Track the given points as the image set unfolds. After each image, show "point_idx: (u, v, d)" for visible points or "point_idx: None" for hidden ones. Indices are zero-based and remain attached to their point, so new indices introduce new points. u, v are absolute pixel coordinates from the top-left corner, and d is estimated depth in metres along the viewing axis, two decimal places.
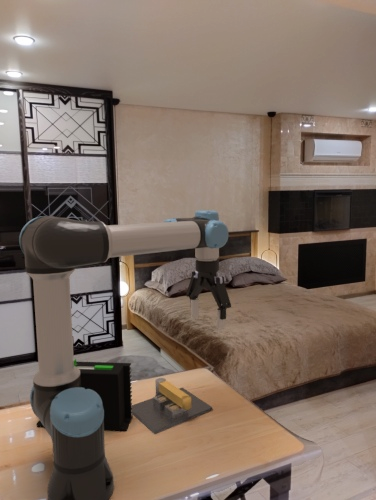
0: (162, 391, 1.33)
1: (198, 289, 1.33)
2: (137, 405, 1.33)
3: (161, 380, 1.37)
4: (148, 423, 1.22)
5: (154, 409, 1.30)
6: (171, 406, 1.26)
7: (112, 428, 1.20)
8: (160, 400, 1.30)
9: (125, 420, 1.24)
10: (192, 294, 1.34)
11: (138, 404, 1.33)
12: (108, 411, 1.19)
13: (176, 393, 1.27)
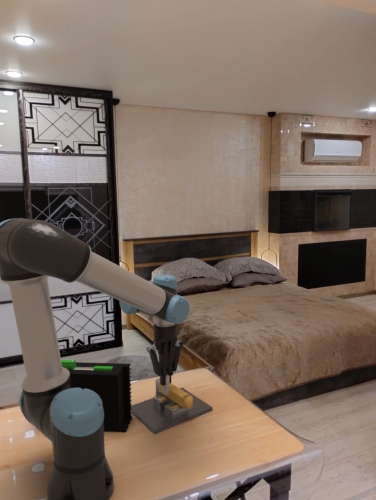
0: None
1: (166, 356, 1.30)
2: (137, 405, 1.33)
3: None
4: (148, 423, 1.22)
5: (154, 409, 1.30)
6: (171, 406, 1.26)
7: (112, 429, 1.19)
8: (160, 400, 1.30)
9: (125, 421, 1.24)
10: None
11: (138, 404, 1.33)
12: (108, 412, 1.19)
13: (177, 393, 1.28)
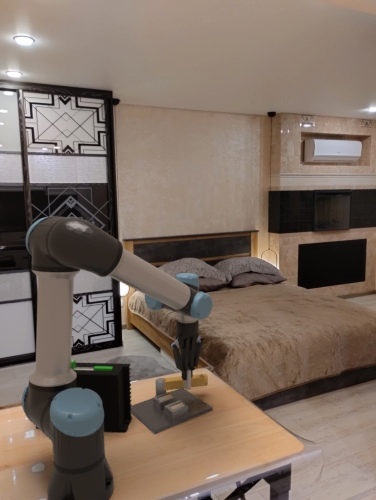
0: (171, 387, 1.36)
1: (187, 352, 1.35)
2: (137, 405, 1.33)
3: (161, 380, 1.37)
4: (148, 423, 1.22)
5: (154, 409, 1.30)
6: (171, 406, 1.26)
7: (112, 429, 1.19)
8: (160, 400, 1.30)
9: (125, 421, 1.24)
10: None
11: (138, 404, 1.33)
12: (108, 412, 1.19)
13: (192, 378, 1.38)
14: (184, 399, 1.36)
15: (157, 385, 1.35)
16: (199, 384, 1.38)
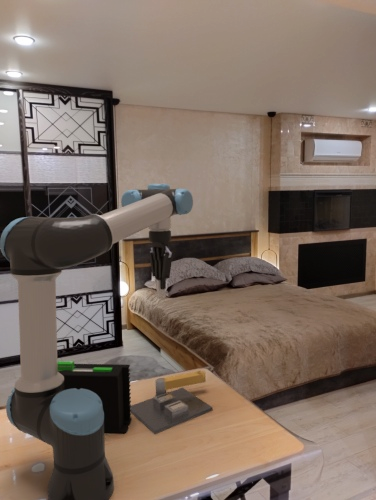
0: (171, 386, 1.37)
1: (158, 262, 1.38)
2: (137, 405, 1.33)
3: (161, 380, 1.37)
4: (148, 423, 1.22)
5: (154, 409, 1.30)
6: (171, 406, 1.26)
7: (111, 431, 1.19)
8: (160, 400, 1.30)
9: (124, 422, 1.23)
10: (155, 272, 1.39)
11: (138, 404, 1.33)
12: (107, 414, 1.18)
13: (191, 376, 1.40)
14: (184, 399, 1.36)
15: (158, 385, 1.35)
16: (198, 381, 1.41)
